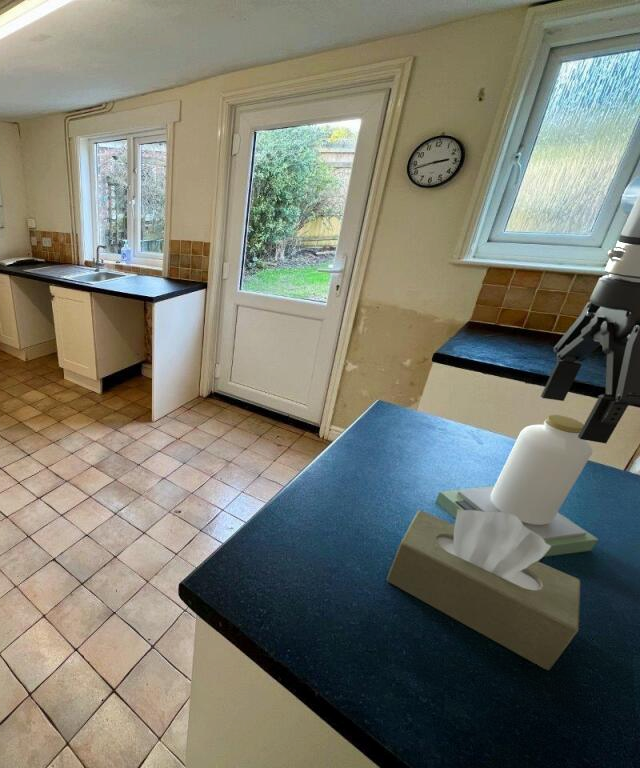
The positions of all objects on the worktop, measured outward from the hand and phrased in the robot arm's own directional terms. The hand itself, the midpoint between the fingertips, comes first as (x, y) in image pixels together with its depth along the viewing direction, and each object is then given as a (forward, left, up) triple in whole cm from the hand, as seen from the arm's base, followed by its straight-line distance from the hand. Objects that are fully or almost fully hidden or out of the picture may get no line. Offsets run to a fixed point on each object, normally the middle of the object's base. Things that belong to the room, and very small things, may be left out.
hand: (570, 417), depth 64 cm
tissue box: (+21, +12, -22) cm, 33 cm away
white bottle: (0, 0, -19) cm, 19 cm away
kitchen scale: (+1, 0, -22) cm, 22 cm away
